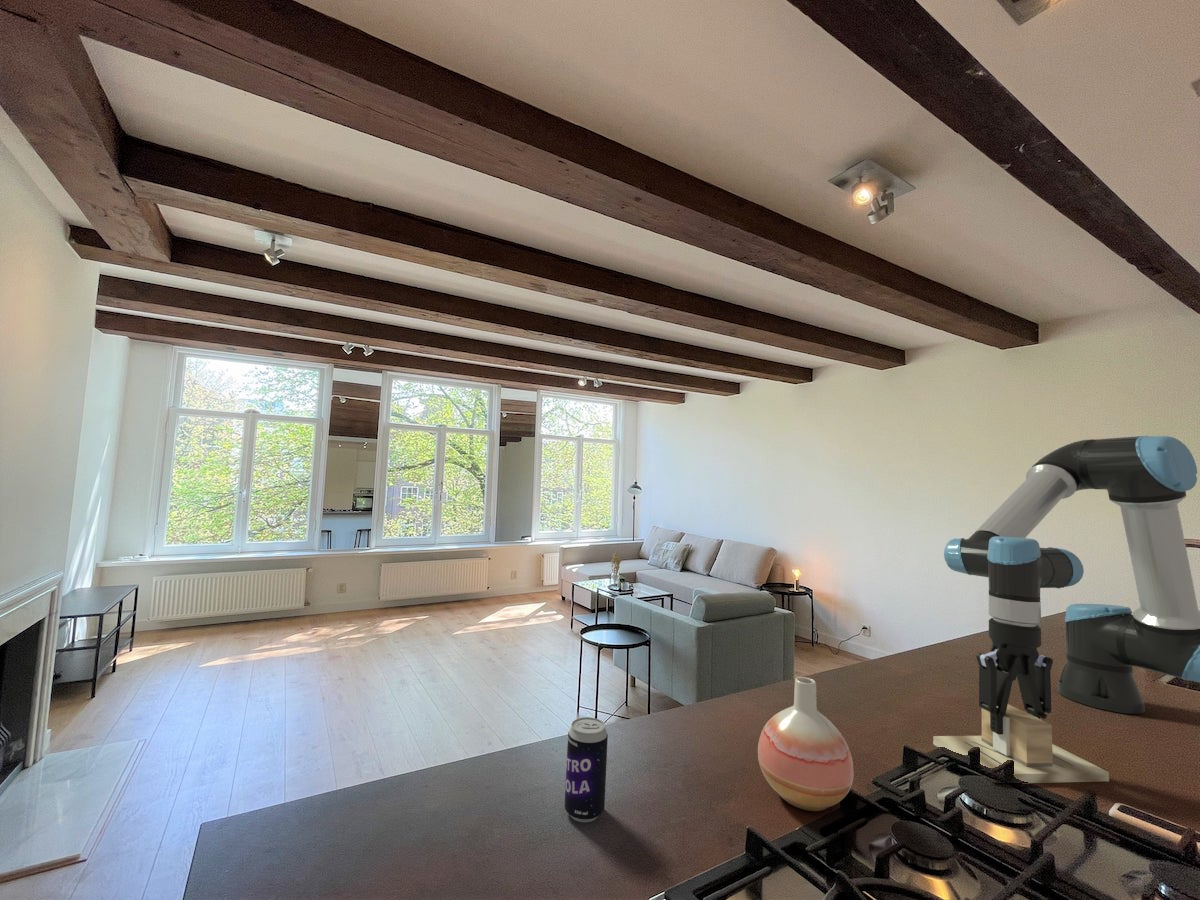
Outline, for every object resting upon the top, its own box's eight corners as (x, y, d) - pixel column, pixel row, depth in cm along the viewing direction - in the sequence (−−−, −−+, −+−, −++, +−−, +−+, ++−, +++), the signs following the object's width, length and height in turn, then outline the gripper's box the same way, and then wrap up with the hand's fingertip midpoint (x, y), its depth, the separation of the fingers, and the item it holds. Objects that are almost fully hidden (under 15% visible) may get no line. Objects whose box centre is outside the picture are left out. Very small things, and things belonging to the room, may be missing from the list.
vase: (875, 821, 73) (876, 695, 74) (794, 834, 69) (797, 701, 70) (810, 769, 86) (812, 662, 87) (739, 778, 82) (742, 666, 83)
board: (1035, 742, 100) (1035, 735, 100) (1109, 781, 87) (1108, 772, 87) (933, 744, 97) (933, 736, 97) (993, 783, 84) (993, 774, 84)
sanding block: (981, 740, 96) (981, 702, 97) (1005, 740, 97) (1004, 702, 97) (1026, 766, 87) (1026, 724, 88) (1052, 766, 88) (1051, 724, 88)
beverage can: (563, 800, 74) (568, 715, 75) (602, 800, 75) (606, 716, 75) (564, 826, 68) (569, 734, 69) (606, 826, 69) (610, 734, 70)
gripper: (1037, 616, 98) (1039, 740, 97) (953, 615, 96) (953, 741, 95) (1078, 627, 91) (1081, 762, 89) (987, 625, 89) (989, 763, 87)
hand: (1015, 751), depth 92 cm, fingers closed on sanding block, 5 cm apart
